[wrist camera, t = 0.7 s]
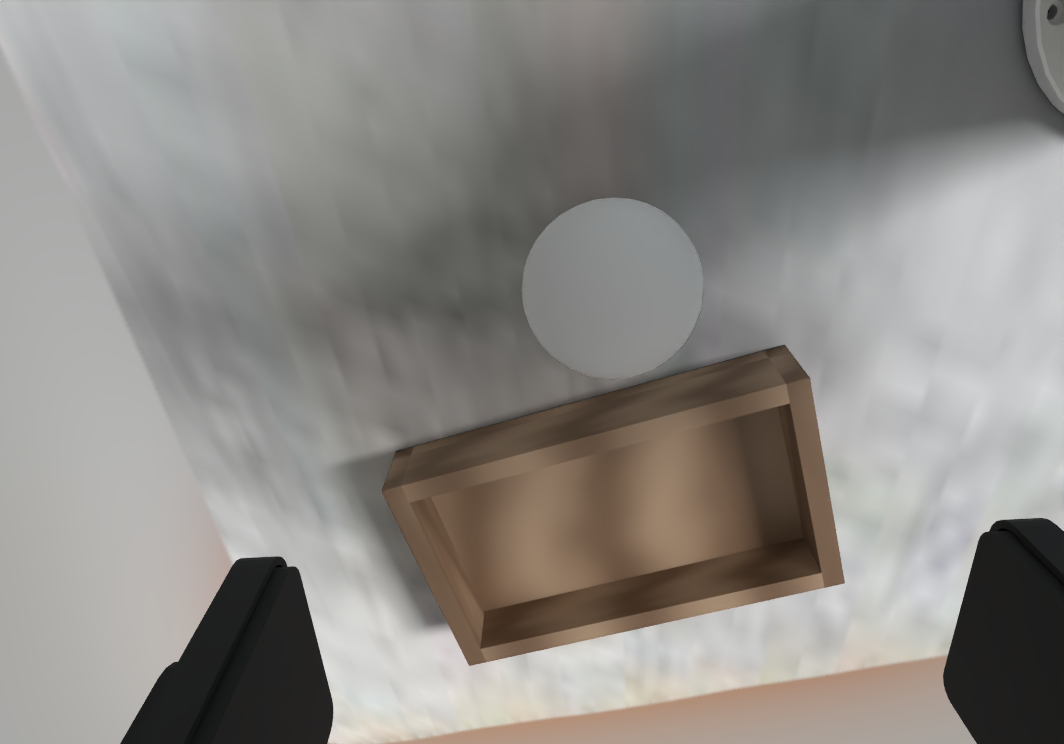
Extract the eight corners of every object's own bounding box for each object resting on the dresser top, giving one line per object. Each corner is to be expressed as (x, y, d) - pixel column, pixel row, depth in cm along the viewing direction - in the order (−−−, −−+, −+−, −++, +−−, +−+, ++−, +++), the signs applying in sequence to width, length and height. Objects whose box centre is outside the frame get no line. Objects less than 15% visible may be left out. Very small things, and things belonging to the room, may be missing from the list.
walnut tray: (784, 345, 33) (809, 377, 30) (820, 537, 38) (844, 583, 35) (396, 451, 36) (381, 491, 33) (475, 617, 41) (469, 665, 38)
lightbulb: (694, 209, 31) (764, 293, 21) (613, 319, 33) (642, 442, 23) (577, 130, 29) (593, 180, 19) (501, 251, 32) (481, 350, 22)
